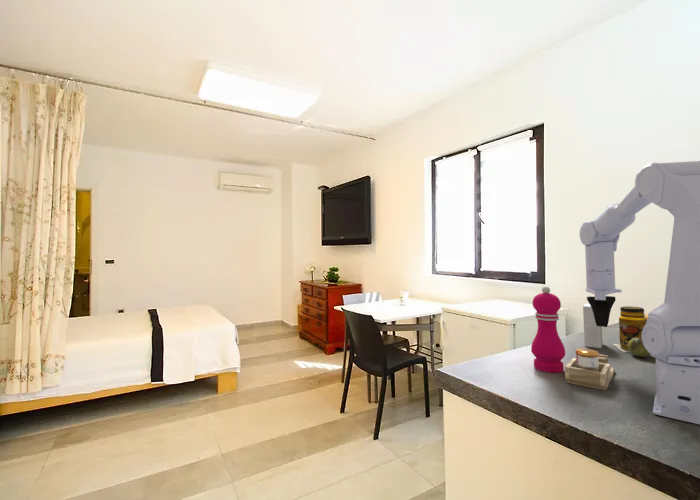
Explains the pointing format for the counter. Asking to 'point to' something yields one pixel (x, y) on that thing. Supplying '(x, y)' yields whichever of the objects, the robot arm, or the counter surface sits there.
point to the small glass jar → (587, 359)
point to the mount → (590, 374)
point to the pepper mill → (547, 334)
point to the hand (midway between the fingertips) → (601, 326)
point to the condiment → (630, 325)
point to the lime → (637, 348)
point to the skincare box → (591, 328)
